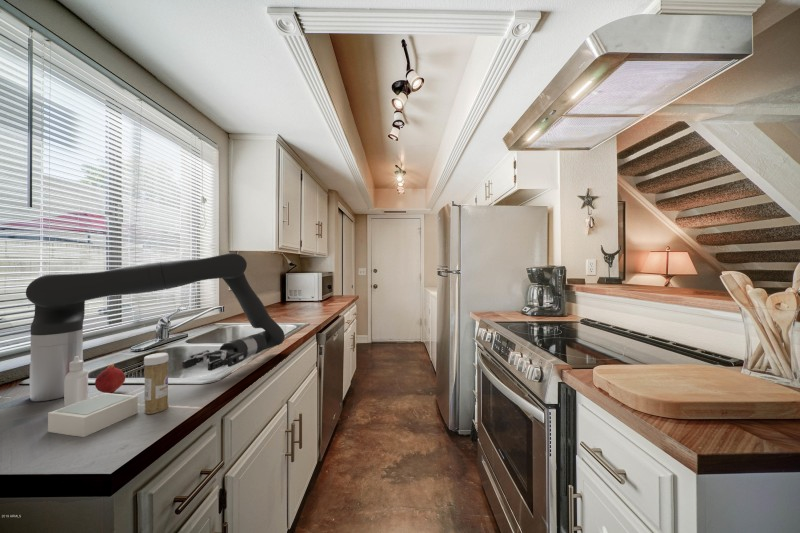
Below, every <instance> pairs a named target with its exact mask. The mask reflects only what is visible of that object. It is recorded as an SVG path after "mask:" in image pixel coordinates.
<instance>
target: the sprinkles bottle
mask: <svg viewBox="0 0 800 533" xmlns="http://www.w3.org/2000/svg"><path fill="white" fill-rule="evenodd" d="M168 363H169V353H168V352H156V353H152V354H148V355H146V356H144V358H143V365H144V413H145V414H146V415H152V414H157V413H160V412H163V411H165V410H166V409H168V408H169V403H168V399H169V396H168V395H169V375H168V373H169V372H168V369H169V367H168Z"/></svg>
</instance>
